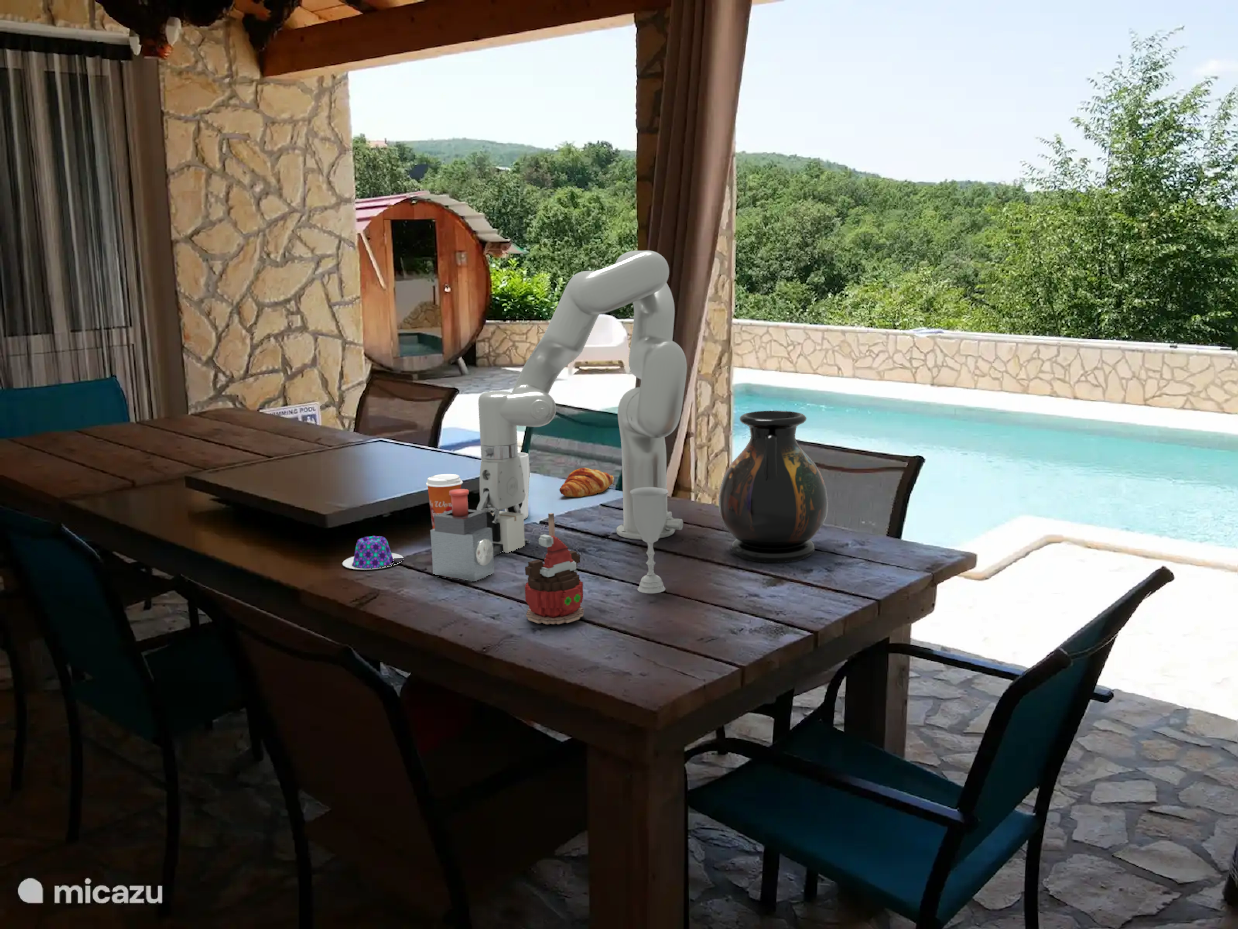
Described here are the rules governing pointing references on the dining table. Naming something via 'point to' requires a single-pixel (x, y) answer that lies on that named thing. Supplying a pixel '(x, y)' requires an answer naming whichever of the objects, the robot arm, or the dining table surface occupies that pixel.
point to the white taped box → (511, 530)
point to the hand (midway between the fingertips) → (503, 536)
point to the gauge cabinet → (462, 545)
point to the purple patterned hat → (371, 554)
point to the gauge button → (459, 502)
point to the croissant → (586, 483)
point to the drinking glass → (525, 482)
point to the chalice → (650, 529)
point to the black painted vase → (773, 492)
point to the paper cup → (441, 493)
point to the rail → (499, 547)
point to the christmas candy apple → (554, 583)
